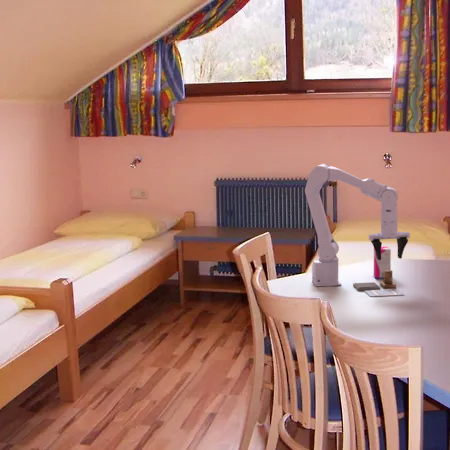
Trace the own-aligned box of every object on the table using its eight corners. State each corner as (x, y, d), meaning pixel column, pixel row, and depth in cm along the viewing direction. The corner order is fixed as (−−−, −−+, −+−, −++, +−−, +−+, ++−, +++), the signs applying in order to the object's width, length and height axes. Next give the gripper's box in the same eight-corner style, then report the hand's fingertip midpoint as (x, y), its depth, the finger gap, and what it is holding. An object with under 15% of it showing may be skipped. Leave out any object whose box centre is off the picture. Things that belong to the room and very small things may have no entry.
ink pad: (358, 291, 245) (358, 287, 245) (353, 286, 252) (353, 282, 252) (380, 290, 246) (380, 286, 246) (374, 285, 253) (374, 281, 252)
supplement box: (388, 275, 266) (389, 246, 265) (390, 279, 261) (391, 249, 259) (373, 275, 267) (373, 246, 265) (374, 279, 261) (375, 249, 259)
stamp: (383, 288, 248) (383, 272, 247) (379, 285, 252) (380, 269, 251) (395, 288, 248) (396, 272, 247) (392, 285, 252) (392, 269, 251)
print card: (370, 296, 237) (370, 295, 237) (364, 291, 244) (364, 290, 244) (404, 295, 238) (404, 294, 238) (397, 290, 245) (397, 289, 245)
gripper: (373, 224, 241) (373, 262, 244) (413, 221, 243) (413, 259, 245) (366, 221, 248) (367, 258, 251) (405, 218, 250) (405, 255, 252)
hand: (389, 258), depth 248 cm, fingers open, 7 cm apart
